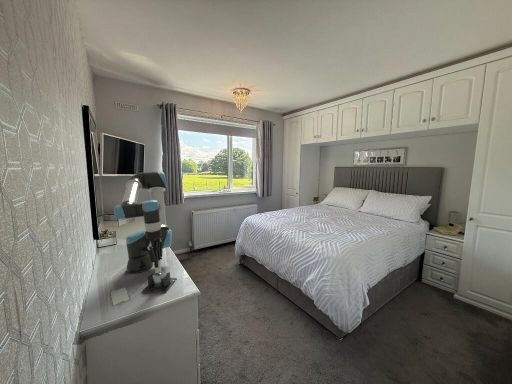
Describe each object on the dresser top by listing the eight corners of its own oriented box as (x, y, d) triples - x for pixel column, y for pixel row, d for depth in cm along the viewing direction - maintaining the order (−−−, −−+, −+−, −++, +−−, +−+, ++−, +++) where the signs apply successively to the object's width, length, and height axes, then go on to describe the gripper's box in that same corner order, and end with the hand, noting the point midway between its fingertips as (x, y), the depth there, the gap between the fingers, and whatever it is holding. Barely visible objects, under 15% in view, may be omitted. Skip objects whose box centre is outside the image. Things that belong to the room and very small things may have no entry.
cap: (157, 281, 119) (156, 270, 118) (167, 281, 118) (166, 270, 117) (151, 287, 113) (150, 276, 112) (162, 287, 112) (161, 276, 112)
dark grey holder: (141, 292, 110) (140, 282, 109) (155, 279, 123) (153, 269, 122) (165, 292, 109) (164, 282, 108) (176, 279, 122) (175, 269, 121)
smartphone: (126, 286, 116) (130, 299, 105) (126, 287, 116) (130, 300, 105) (109, 292, 112) (112, 306, 100) (110, 293, 112) (112, 307, 100)
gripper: (153, 226, 118) (158, 266, 121) (138, 234, 106) (144, 278, 109) (166, 225, 118) (170, 266, 121) (153, 233, 105) (158, 278, 108)
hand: (158, 272), depth 115 cm, fingers closed
